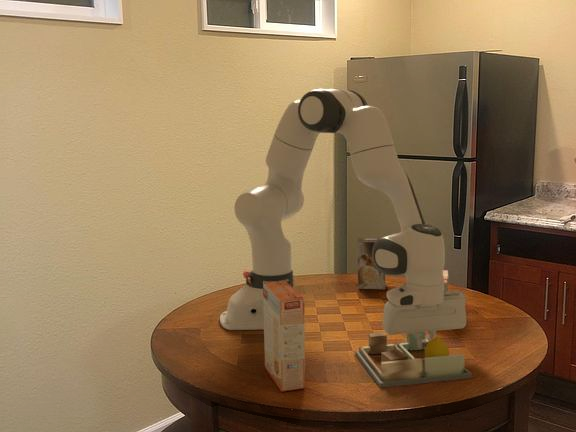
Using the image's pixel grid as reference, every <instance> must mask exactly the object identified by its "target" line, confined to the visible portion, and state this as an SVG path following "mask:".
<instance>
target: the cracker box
mask: <svg viewBox="0 0 576 432" xmlns="http://www.w3.org/2000/svg"><path fill="white" fill-rule="evenodd" d="M263 302H264V329H263V337H264V338H263V339H264V368H265V370H266V371H267V373H268V374H269V376H270V378H271V379H272V381H273V382H274V383H275V385H276V386H277V387H278V389H279V390H280V392H282V393H283V392H289V391H297V390H303V389H306V359H305V356H306V354H305V353H306V347H305V346H306V345H305V344H306V343H305V341H306V340H305V339H306V338H305V332H306V331H305V297H304V296H303V295H302V294H300V292H299V291H298V290H296V289H295V288H294V287H293V288H292V287H291V286H290V285H289V284H288V283H287V282H286V281H280V282H272V283H264V284H263Z"/></svg>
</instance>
